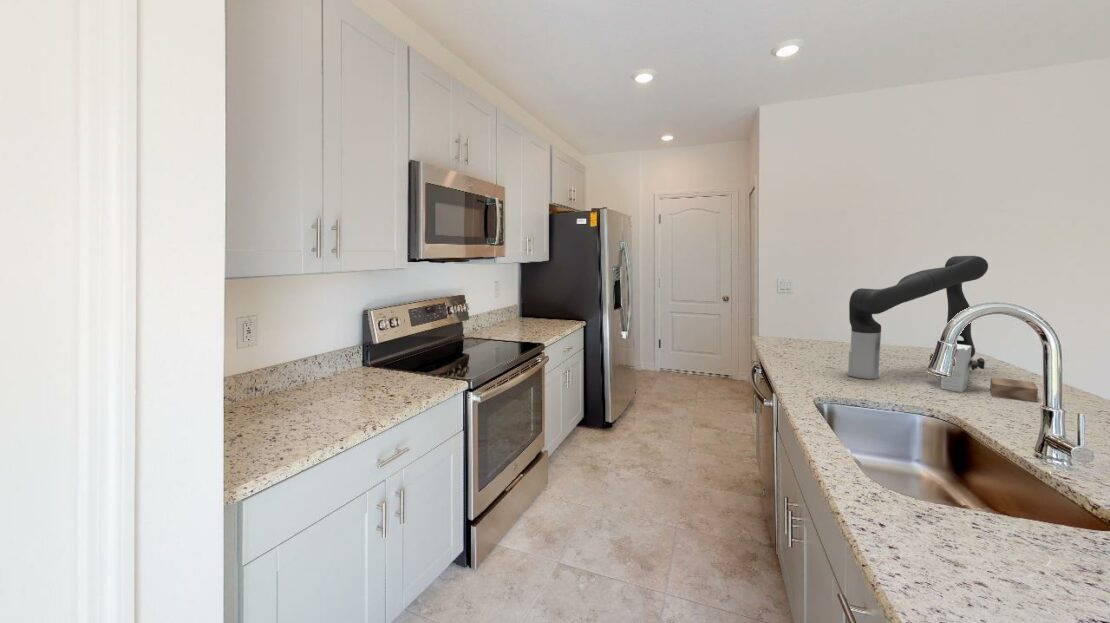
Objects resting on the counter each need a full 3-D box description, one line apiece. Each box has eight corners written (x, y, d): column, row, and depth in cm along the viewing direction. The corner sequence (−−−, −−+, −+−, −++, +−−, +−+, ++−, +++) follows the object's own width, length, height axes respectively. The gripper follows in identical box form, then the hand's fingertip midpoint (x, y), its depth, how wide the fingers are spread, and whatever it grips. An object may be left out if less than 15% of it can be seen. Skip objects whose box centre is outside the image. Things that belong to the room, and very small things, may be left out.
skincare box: (945, 384, 160) (949, 342, 158) (968, 387, 155) (972, 345, 153) (940, 389, 154) (943, 346, 153) (963, 393, 150) (967, 348, 148)
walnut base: (991, 396, 146) (992, 383, 145) (990, 388, 153) (991, 377, 153) (1036, 402, 139) (1038, 389, 139) (1032, 394, 147) (1033, 382, 146)
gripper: (931, 344, 169) (929, 351, 156) (984, 348, 159) (986, 356, 147) (930, 364, 169) (928, 372, 157) (982, 369, 160) (984, 379, 148)
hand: (956, 365), depth 152 cm, fingers open, 8 cm apart
